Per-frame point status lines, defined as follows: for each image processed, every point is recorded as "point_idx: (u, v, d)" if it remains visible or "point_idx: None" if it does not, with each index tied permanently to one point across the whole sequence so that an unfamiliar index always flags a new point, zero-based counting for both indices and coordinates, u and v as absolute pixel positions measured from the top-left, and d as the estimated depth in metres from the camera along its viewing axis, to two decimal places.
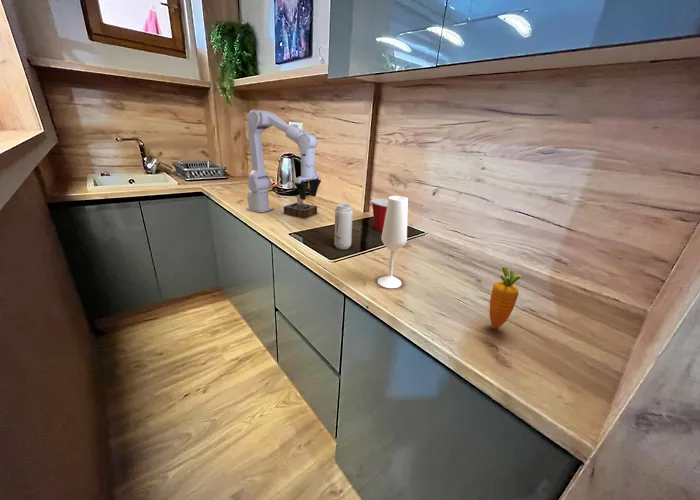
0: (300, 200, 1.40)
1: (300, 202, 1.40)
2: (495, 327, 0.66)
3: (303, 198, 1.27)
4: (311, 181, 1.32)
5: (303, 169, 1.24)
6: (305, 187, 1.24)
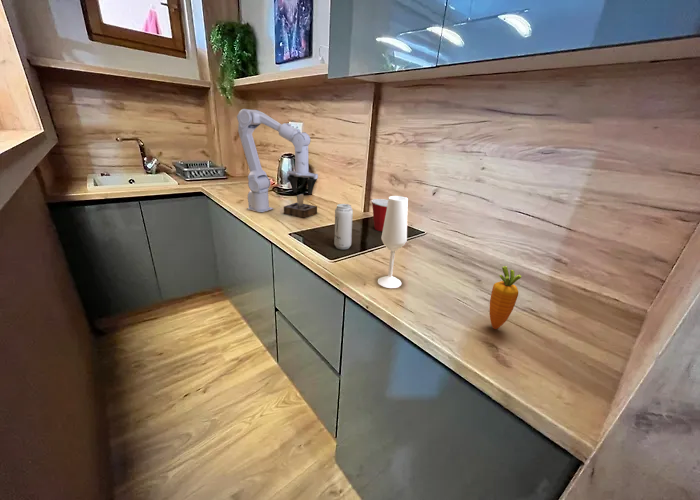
0: (300, 200, 1.40)
1: (300, 202, 1.40)
2: (495, 327, 0.66)
3: None
4: None
5: None
6: (290, 180, 1.34)
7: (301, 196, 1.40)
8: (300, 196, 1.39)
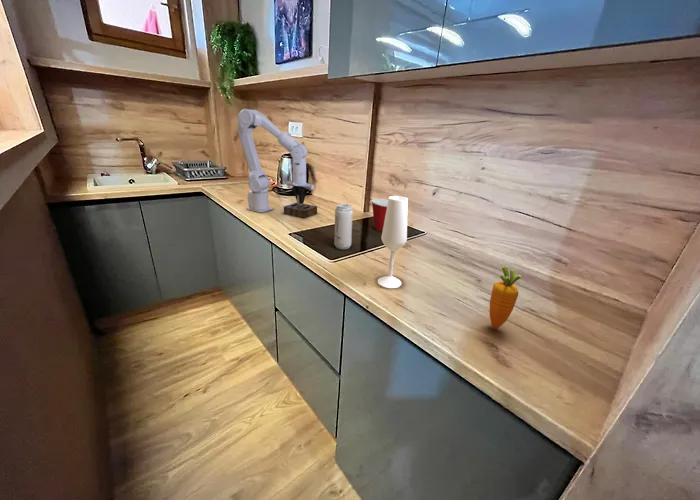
0: None
1: None
2: (495, 327, 0.66)
3: None
4: None
5: None
6: (294, 191, 1.38)
7: None
8: None
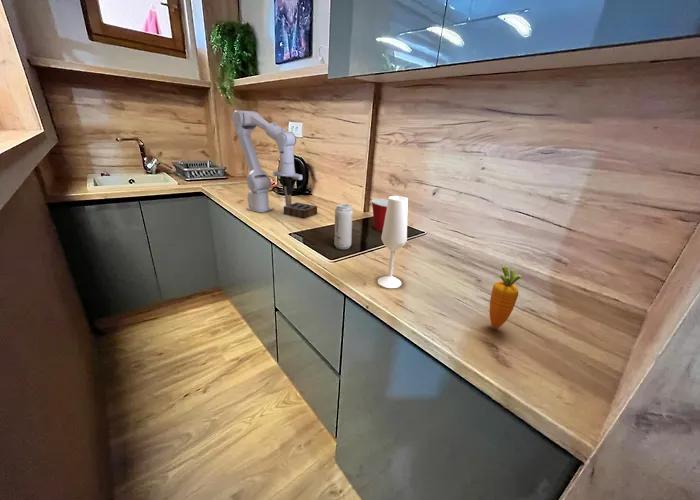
0: None
1: None
2: (495, 327, 0.66)
3: None
4: None
5: None
6: (281, 182, 1.30)
7: None
8: None
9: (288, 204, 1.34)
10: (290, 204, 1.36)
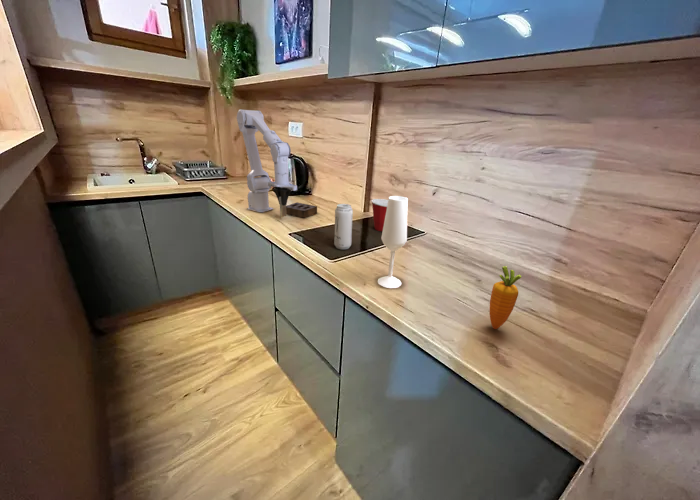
0: None
1: None
2: (495, 327, 0.66)
3: None
4: None
5: None
6: (275, 192, 1.29)
7: None
8: None
9: (283, 214, 1.33)
10: (285, 214, 1.35)
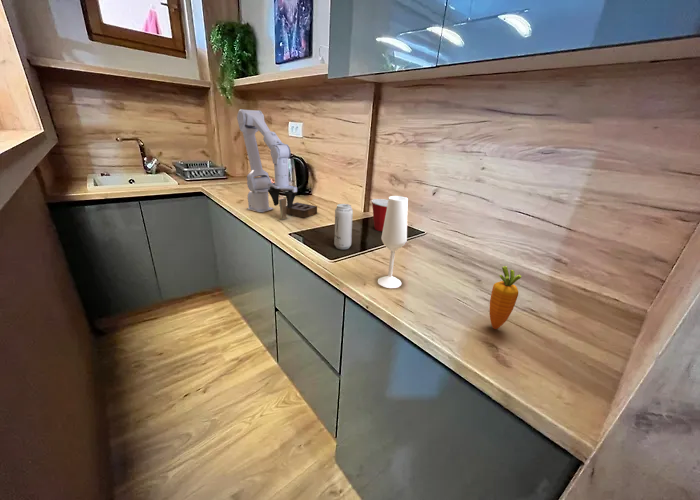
0: (283, 205, 1.31)
1: (283, 207, 1.32)
2: (495, 327, 0.66)
3: None
4: None
5: None
6: (270, 193, 1.31)
7: (284, 200, 1.31)
8: (282, 200, 1.31)
9: (283, 217, 1.34)
10: (285, 217, 1.35)
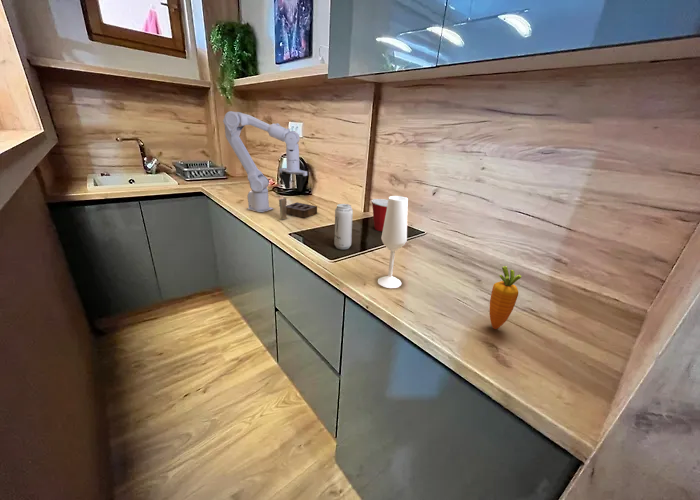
0: (283, 205, 1.31)
1: (283, 207, 1.32)
2: (495, 327, 0.66)
3: None
4: None
5: None
6: (282, 177, 1.41)
7: (284, 200, 1.31)
8: (282, 200, 1.31)
9: (283, 217, 1.34)
10: (285, 217, 1.35)
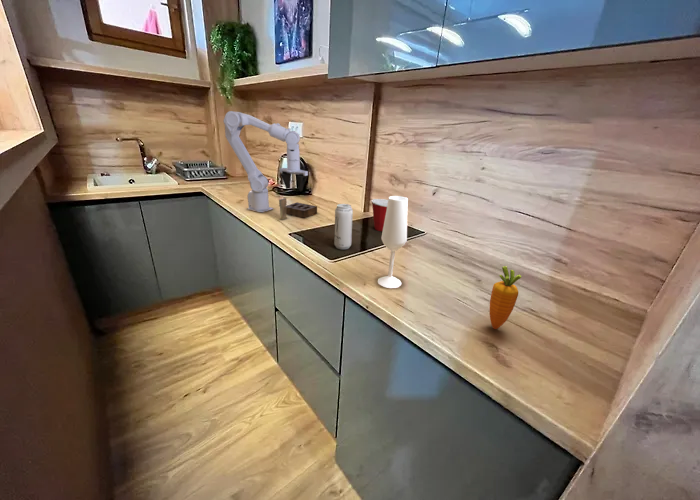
0: (283, 205, 1.31)
1: (283, 207, 1.32)
2: (495, 327, 0.66)
3: None
4: None
5: None
6: (282, 177, 1.41)
7: (284, 200, 1.31)
8: (282, 200, 1.31)
9: (283, 217, 1.34)
10: (285, 217, 1.35)
